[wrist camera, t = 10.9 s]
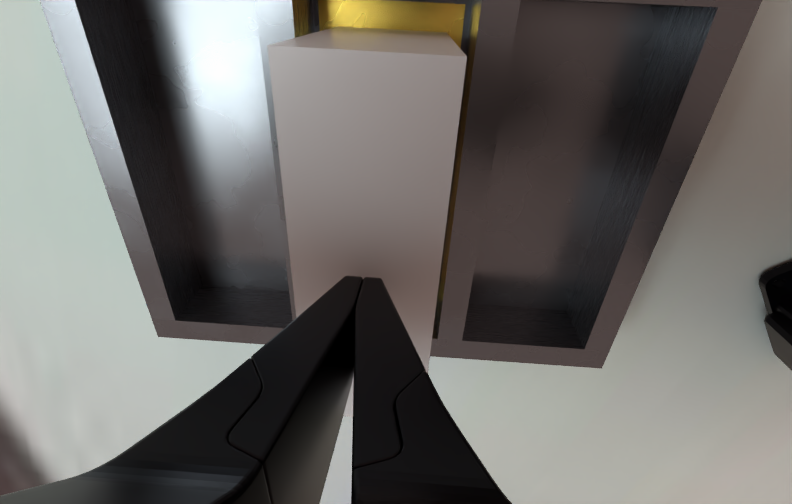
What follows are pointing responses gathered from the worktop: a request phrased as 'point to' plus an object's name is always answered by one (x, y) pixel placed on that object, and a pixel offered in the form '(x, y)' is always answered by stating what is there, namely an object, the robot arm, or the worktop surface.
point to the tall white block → (368, 162)
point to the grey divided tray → (473, 164)
